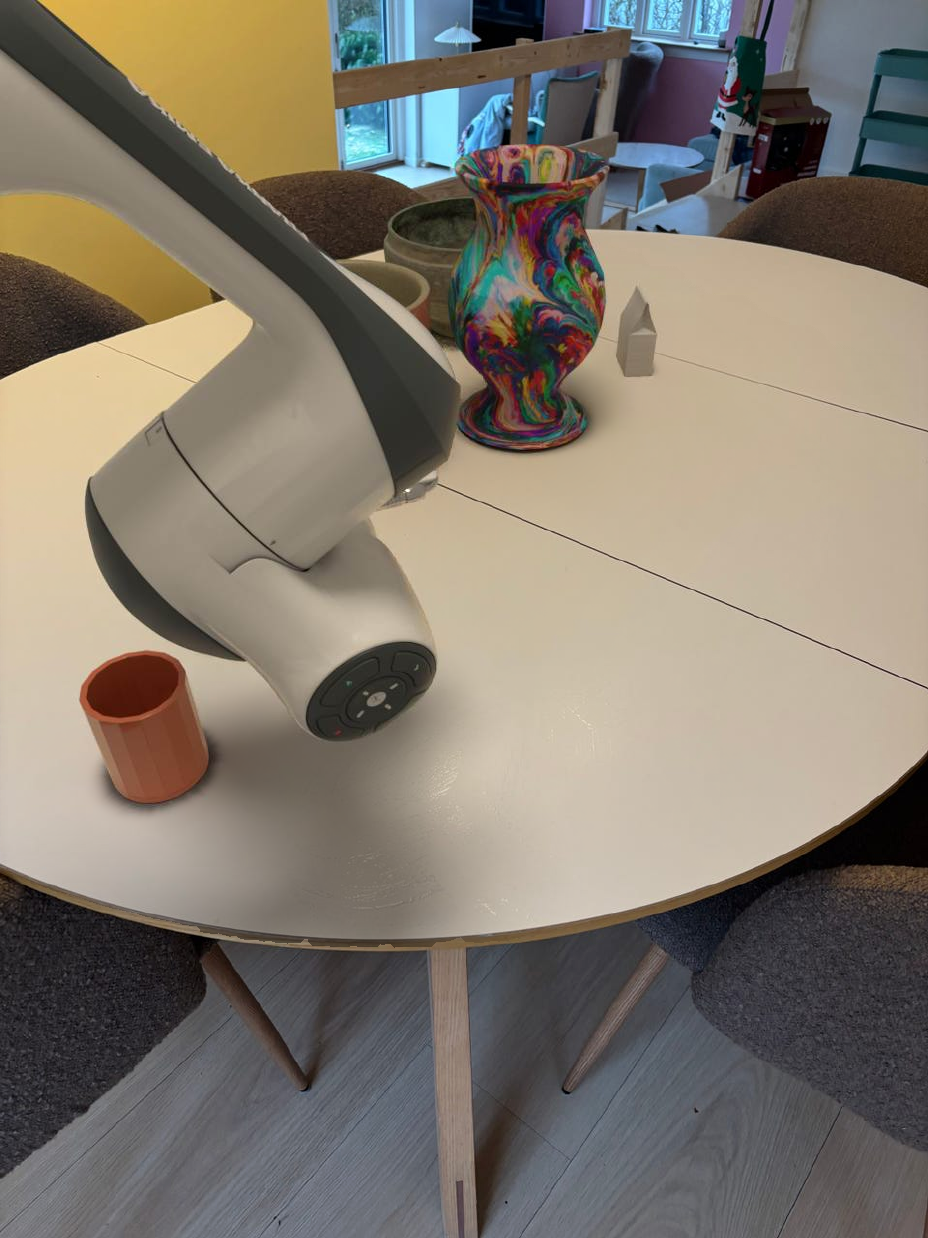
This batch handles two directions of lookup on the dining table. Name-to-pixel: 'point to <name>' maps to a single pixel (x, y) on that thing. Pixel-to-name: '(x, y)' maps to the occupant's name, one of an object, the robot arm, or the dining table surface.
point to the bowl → (432, 247)
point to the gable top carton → (636, 337)
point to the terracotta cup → (146, 725)
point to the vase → (527, 291)
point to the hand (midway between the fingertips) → (238, 425)
